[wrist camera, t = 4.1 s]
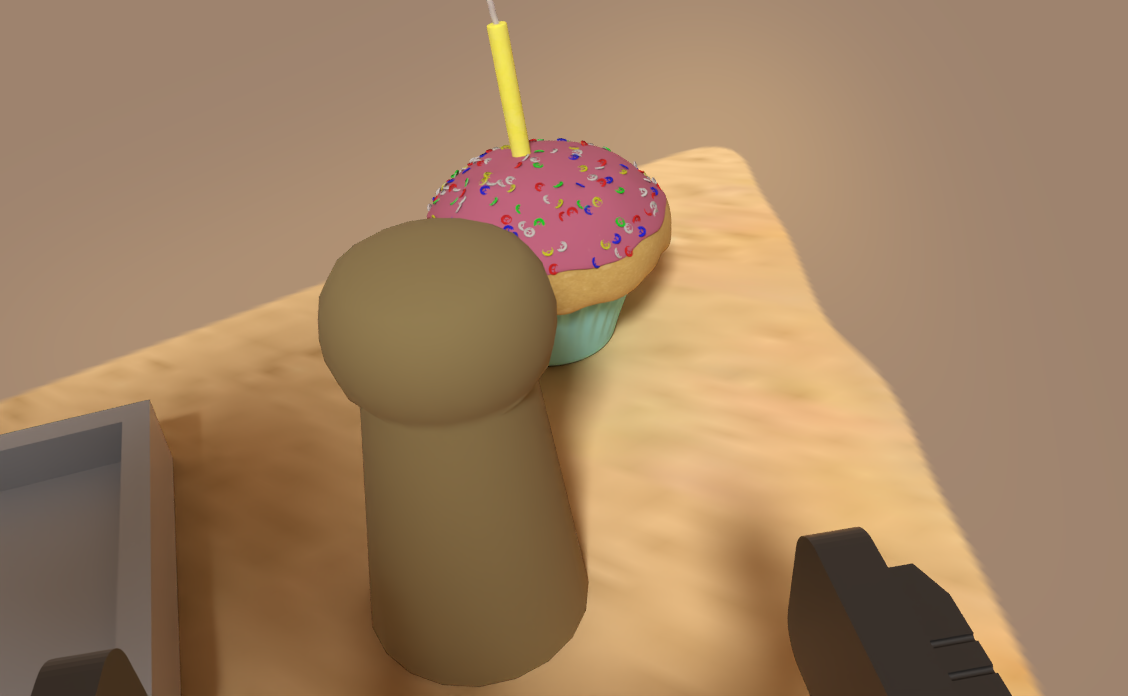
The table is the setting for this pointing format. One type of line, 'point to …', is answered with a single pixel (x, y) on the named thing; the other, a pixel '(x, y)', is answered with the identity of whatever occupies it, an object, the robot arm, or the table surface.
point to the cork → (456, 447)
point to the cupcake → (564, 214)
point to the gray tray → (89, 547)
